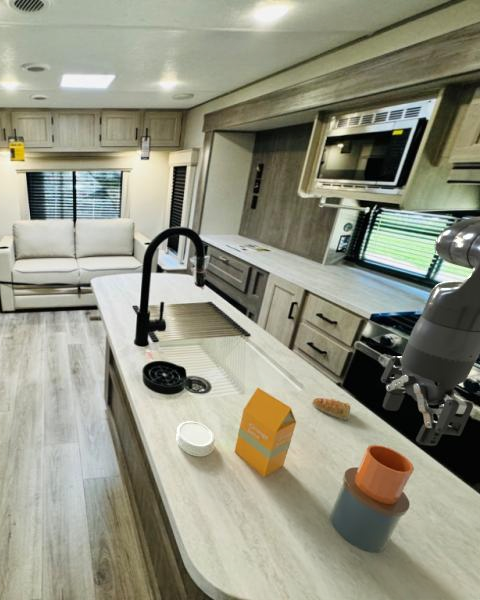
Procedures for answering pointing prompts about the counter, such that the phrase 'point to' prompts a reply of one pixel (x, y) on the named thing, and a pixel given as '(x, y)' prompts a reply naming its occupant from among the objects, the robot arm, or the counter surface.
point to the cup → (383, 474)
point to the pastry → (333, 407)
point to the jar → (365, 516)
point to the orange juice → (265, 432)
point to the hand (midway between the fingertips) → (405, 425)
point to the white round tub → (195, 438)
